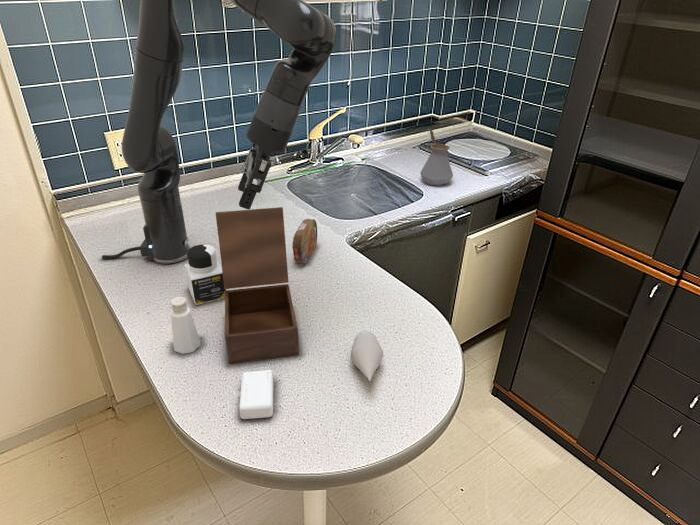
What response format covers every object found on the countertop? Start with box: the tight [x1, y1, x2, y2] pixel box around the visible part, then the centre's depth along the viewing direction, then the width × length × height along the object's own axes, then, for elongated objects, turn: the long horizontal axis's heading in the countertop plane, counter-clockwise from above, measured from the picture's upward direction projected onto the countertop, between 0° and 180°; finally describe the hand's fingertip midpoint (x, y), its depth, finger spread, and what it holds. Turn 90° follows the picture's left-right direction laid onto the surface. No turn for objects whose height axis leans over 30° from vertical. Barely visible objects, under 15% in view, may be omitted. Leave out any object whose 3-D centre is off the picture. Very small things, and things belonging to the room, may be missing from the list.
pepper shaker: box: [170, 296, 201, 355], centre depth 96 cm, size 5×5×11 cm
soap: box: [238, 369, 274, 420], centre depth 86 cm, size 9×6×3 cm, turn 7°
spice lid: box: [215, 206, 289, 290], centre depth 102 cm, size 16×13×1 cm
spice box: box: [224, 283, 300, 365], centre depth 100 cm, size 15×13×7 cm
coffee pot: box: [419, 128, 454, 187], centre depth 177 cm, size 21×12×15 cm, turn 4°
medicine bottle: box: [184, 243, 227, 306], centre depth 111 cm, size 7×7×12 cm
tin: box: [291, 218, 318, 264], centre depth 128 cm, size 15×3×8 cm, turn 168°
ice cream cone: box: [350, 330, 384, 382], centre depth 92 cm, size 6×6×15 cm
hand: (243, 199), depth 96 cm, fingers open, 8 cm apart
